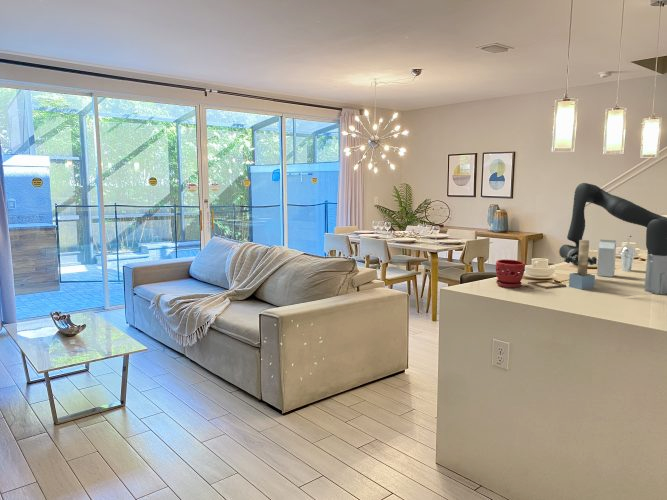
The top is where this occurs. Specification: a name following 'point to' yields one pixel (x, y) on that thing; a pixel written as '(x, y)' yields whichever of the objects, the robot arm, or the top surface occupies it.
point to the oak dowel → (583, 257)
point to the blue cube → (581, 281)
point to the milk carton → (606, 258)
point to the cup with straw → (627, 257)
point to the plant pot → (509, 273)
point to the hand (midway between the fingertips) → (584, 262)
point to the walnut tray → (547, 286)
